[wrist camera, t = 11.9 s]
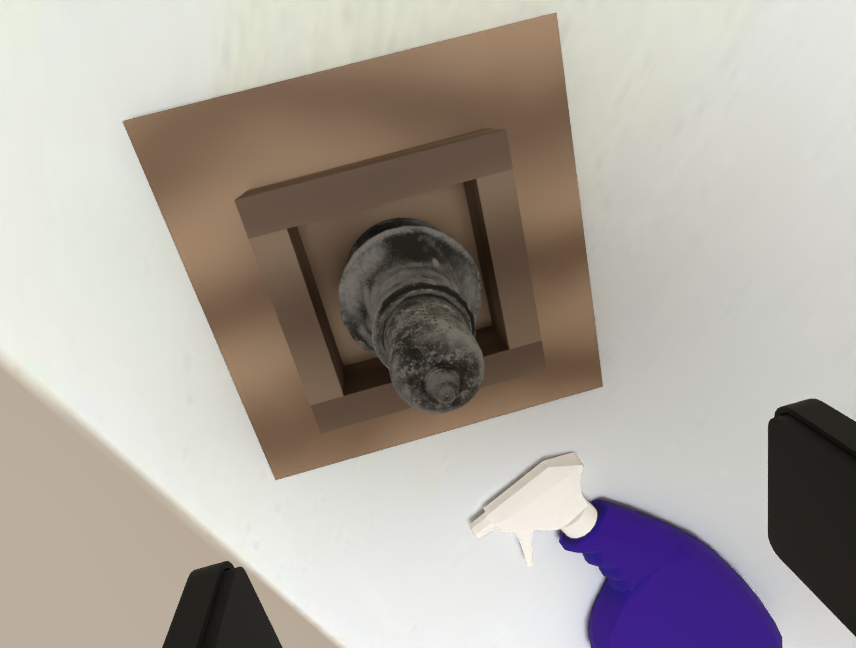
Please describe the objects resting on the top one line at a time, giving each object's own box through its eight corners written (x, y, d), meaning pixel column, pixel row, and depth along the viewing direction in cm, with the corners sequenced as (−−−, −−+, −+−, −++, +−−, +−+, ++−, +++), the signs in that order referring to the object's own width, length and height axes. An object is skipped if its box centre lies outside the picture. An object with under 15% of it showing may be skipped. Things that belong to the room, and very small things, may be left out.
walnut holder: (596, 379, 30) (630, 414, 26) (277, 470, 29) (268, 519, 25) (549, 15, 23) (586, -3, 19) (129, 121, 22) (88, 121, 19)
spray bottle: (805, 647, 37) (606, 435, 29) (678, 736, 38) (454, 560, 30) (774, 611, 40) (583, 407, 31) (656, 695, 41) (445, 523, 33)
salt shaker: (388, 355, 27) (419, 527, 15) (312, 261, 24) (285, 382, 13) (487, 286, 26) (593, 414, 15) (419, 184, 24) (484, 244, 13)
